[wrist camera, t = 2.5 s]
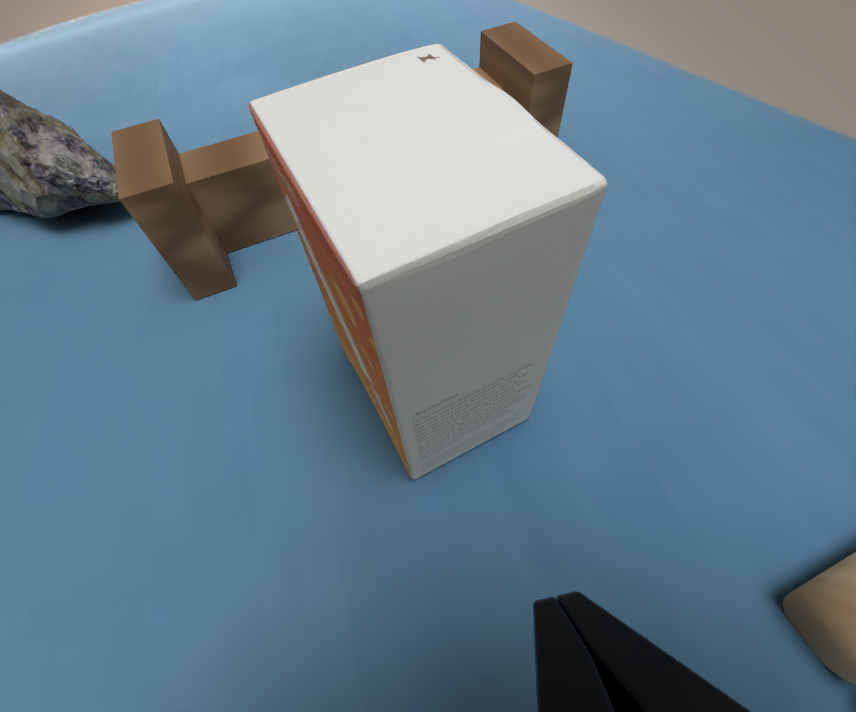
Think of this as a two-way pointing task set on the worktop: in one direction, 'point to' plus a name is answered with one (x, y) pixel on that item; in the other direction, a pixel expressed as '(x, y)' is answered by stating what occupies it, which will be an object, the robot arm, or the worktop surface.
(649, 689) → the robot arm
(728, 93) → the worktop surface
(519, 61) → the stop rail
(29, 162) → the mineral rock
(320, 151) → the small box
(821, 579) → the roller
